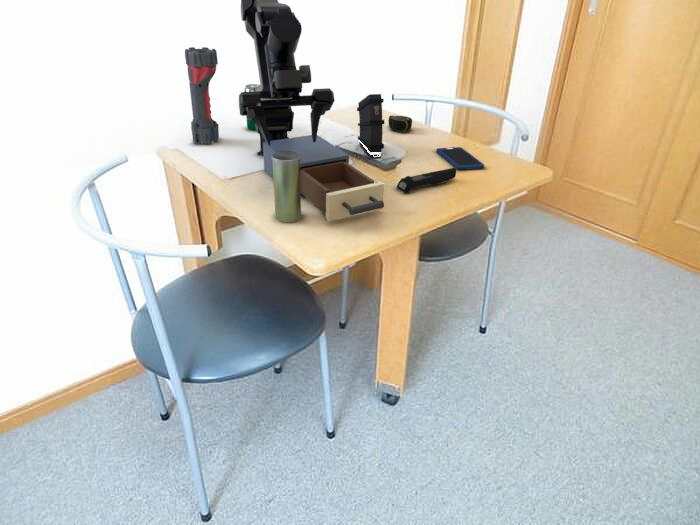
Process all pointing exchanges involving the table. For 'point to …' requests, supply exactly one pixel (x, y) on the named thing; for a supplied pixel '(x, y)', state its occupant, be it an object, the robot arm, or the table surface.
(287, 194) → the tea tin
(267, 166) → the cabinet
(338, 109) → the table surface
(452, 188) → the table surface
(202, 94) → the flashlight
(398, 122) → the tape measure
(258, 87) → the soda can
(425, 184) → the electric trimmer
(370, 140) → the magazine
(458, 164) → the cell phone
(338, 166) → the drawer
